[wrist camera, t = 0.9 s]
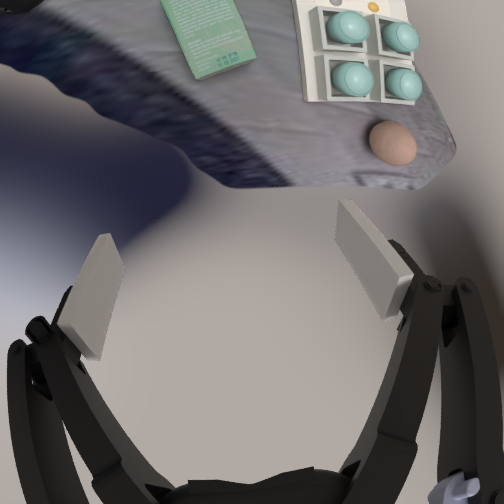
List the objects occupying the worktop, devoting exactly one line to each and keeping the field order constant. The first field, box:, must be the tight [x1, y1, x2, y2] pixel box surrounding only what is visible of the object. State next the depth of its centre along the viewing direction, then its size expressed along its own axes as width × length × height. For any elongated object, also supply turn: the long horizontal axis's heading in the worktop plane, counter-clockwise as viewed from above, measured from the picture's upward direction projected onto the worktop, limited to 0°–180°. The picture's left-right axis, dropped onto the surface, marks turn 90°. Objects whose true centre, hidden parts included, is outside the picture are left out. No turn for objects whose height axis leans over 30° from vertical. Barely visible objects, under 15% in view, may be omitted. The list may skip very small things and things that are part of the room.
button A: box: [326, 10, 370, 44], centre depth 22 cm, size 4×4×3 cm
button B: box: [332, 62, 374, 97], centre depth 26 cm, size 4×4×3 cm
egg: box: [369, 121, 417, 165], centre depth 34 cm, size 7×7×9 cm
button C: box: [381, 22, 420, 52], centre depth 22 cm, size 4×4×3 cm
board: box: [292, 0, 415, 105], centre depth 25 cm, size 20×18×6 cm
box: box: [160, 0, 257, 81], centre depth 23 cm, size 7×14×8 cm, turn 20°
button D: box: [385, 68, 422, 101], centre depth 26 cm, size 4×4×3 cm
